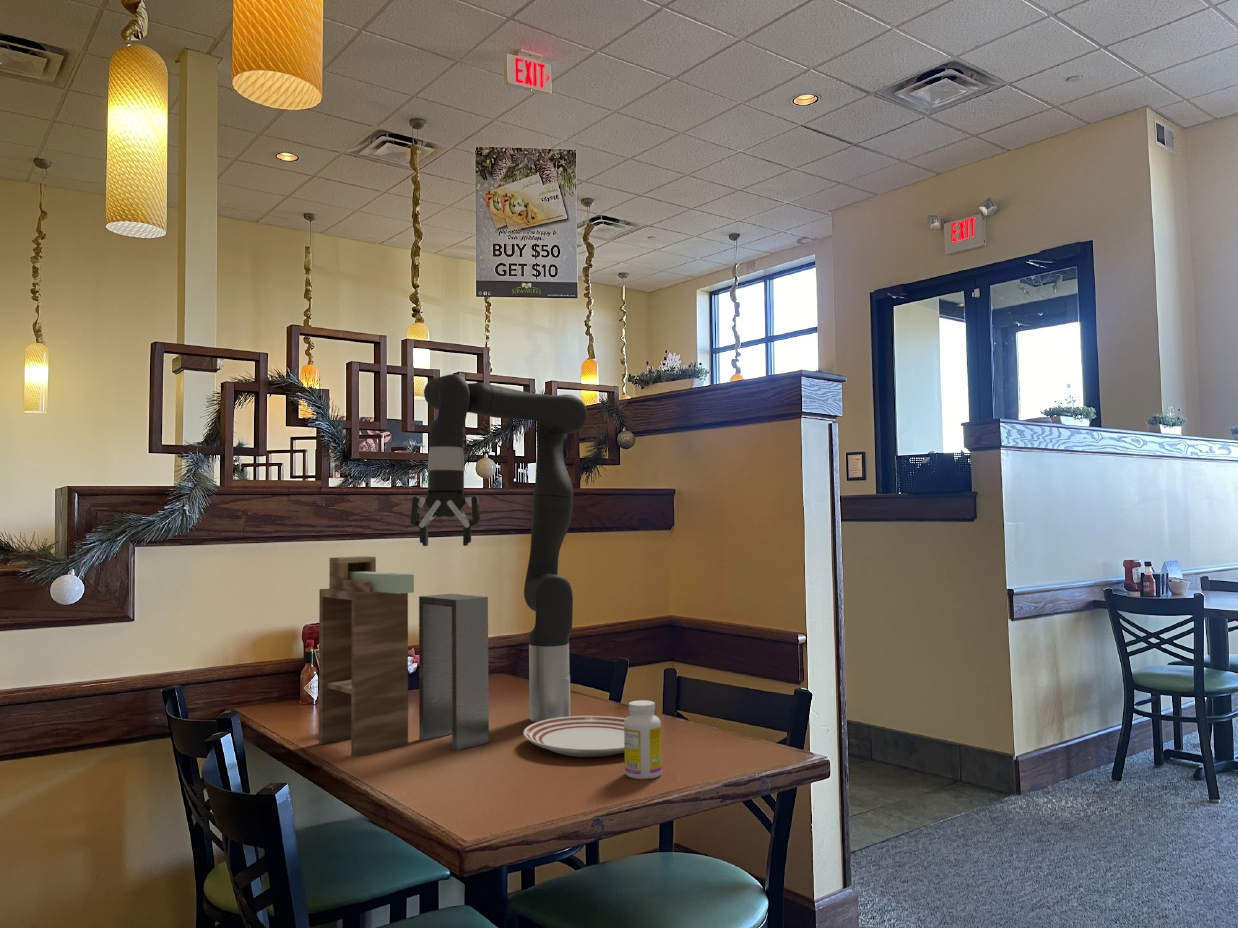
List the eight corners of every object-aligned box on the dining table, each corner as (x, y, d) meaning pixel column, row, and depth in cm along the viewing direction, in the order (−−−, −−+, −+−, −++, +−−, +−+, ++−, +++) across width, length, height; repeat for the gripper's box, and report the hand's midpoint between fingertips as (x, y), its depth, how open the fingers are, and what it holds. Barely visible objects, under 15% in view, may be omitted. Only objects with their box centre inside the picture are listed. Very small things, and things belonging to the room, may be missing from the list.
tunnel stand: (408, 744, 186) (407, 557, 188) (355, 756, 178) (355, 560, 180) (370, 732, 197) (370, 555, 199) (318, 743, 188) (319, 558, 190)
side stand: (488, 742, 187) (487, 596, 188) (456, 750, 181) (456, 599, 183) (450, 732, 196) (450, 593, 198) (419, 739, 190) (419, 596, 192)
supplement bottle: (660, 769, 166) (659, 698, 166) (663, 779, 159) (662, 706, 160) (623, 770, 165) (622, 699, 166) (625, 780, 159) (624, 706, 159)
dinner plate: (670, 733, 194) (670, 717, 194) (639, 768, 167) (639, 750, 167) (550, 726, 201) (550, 711, 201) (502, 759, 175) (501, 742, 175)
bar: (413, 592, 179) (413, 574, 179) (398, 593, 176) (398, 575, 176) (357, 587, 194) (357, 570, 194) (342, 588, 192) (342, 571, 192)
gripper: (482, 470, 195) (481, 545, 194) (416, 470, 195) (415, 545, 194) (476, 468, 187) (476, 546, 186) (408, 468, 187) (407, 546, 186)
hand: (445, 545), depth 190 cm, fingers open, 8 cm apart
